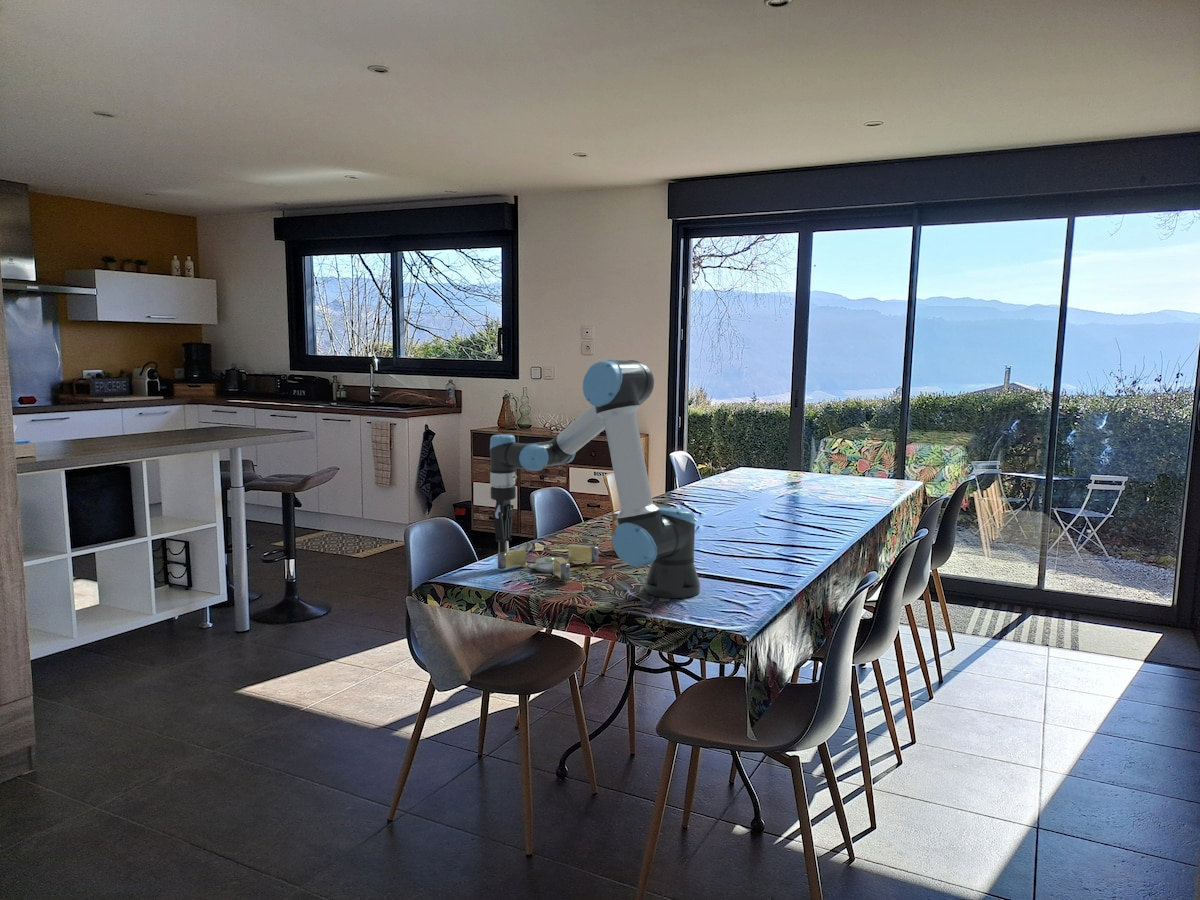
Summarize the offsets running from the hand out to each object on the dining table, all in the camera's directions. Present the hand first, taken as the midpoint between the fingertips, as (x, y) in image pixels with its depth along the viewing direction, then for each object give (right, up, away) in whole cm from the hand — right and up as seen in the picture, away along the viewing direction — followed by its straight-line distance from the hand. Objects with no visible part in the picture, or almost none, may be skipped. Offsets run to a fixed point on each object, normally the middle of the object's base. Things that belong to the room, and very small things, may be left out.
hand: (503, 561), depth 243 cm
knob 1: (+18, -3, -12) cm, 22 cm away
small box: (+38, 0, +22) cm, 44 cm away
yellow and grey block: (+3, -2, -1) cm, 4 cm away
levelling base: (+14, -2, 0) cm, 14 cm away
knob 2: (+24, -1, +5) cm, 24 cm away
